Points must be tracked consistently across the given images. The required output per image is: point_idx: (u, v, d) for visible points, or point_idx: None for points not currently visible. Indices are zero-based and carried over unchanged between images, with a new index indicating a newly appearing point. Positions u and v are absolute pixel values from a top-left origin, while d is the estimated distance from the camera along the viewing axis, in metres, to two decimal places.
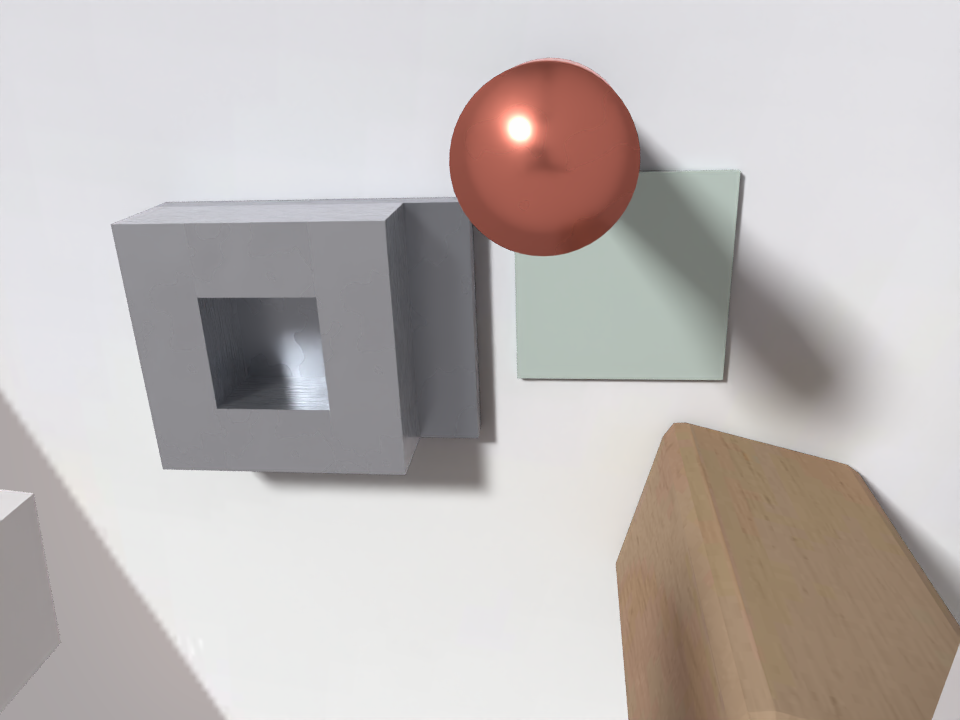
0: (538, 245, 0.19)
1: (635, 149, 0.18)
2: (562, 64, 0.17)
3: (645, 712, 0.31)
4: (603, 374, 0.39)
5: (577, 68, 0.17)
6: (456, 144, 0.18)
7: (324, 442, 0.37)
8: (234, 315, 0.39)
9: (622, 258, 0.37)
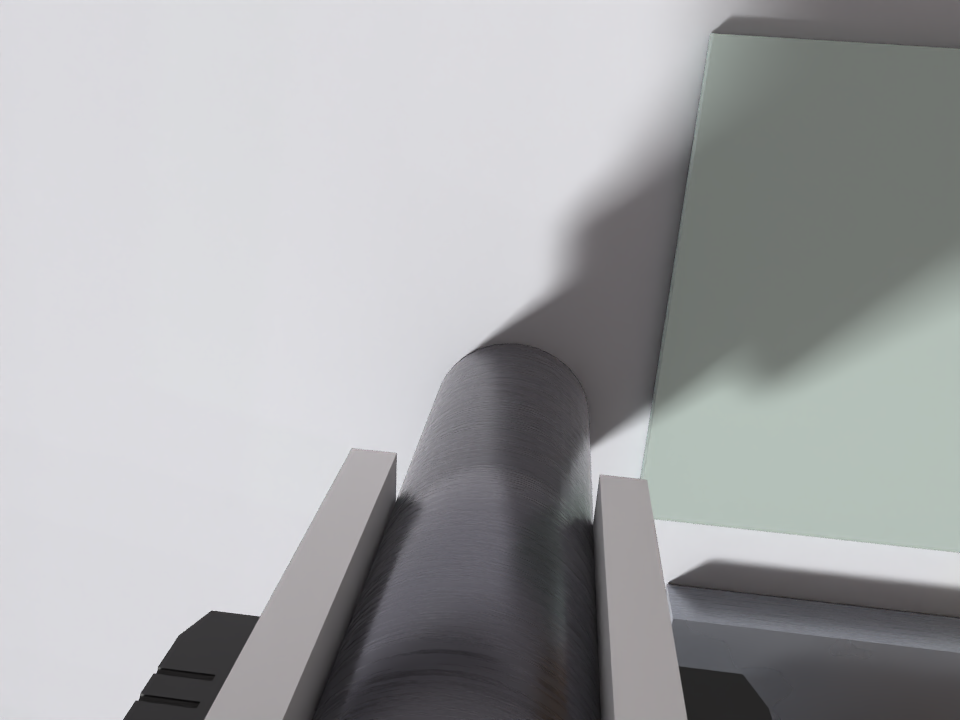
0: None
1: None
2: None
3: None
4: None
5: None
6: None
7: None
8: None
9: (872, 322, 0.15)
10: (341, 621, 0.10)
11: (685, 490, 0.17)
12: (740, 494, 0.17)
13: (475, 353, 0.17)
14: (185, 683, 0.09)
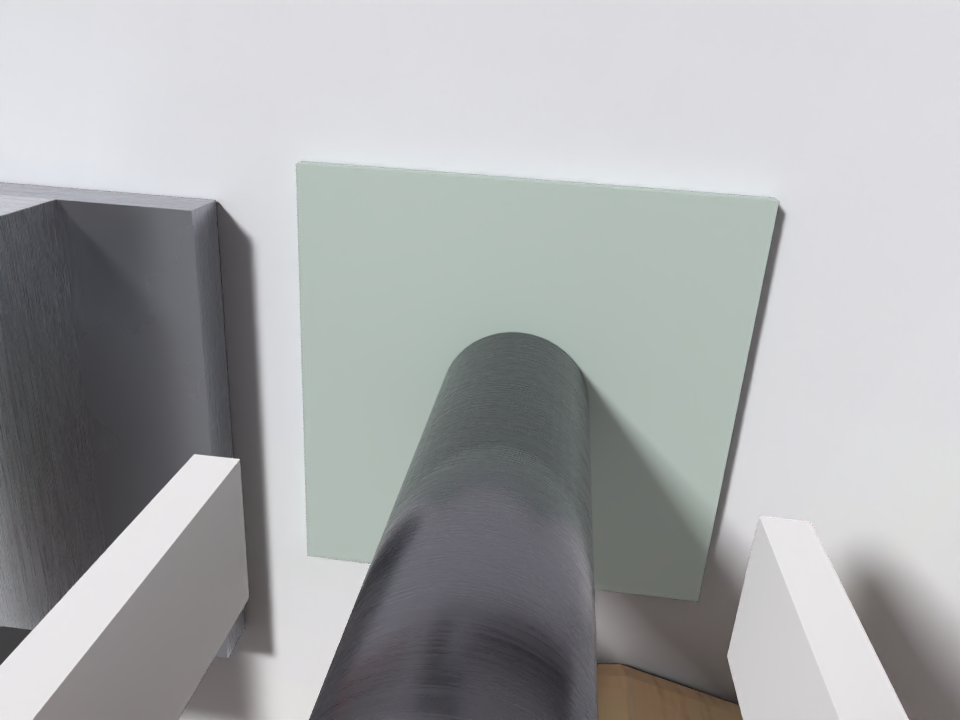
0: None
1: None
2: None
3: None
4: None
5: None
6: None
7: None
8: None
9: None
10: (134, 637, 0.10)
11: (334, 211, 0.17)
12: (336, 264, 0.17)
13: (479, 341, 0.18)
14: None
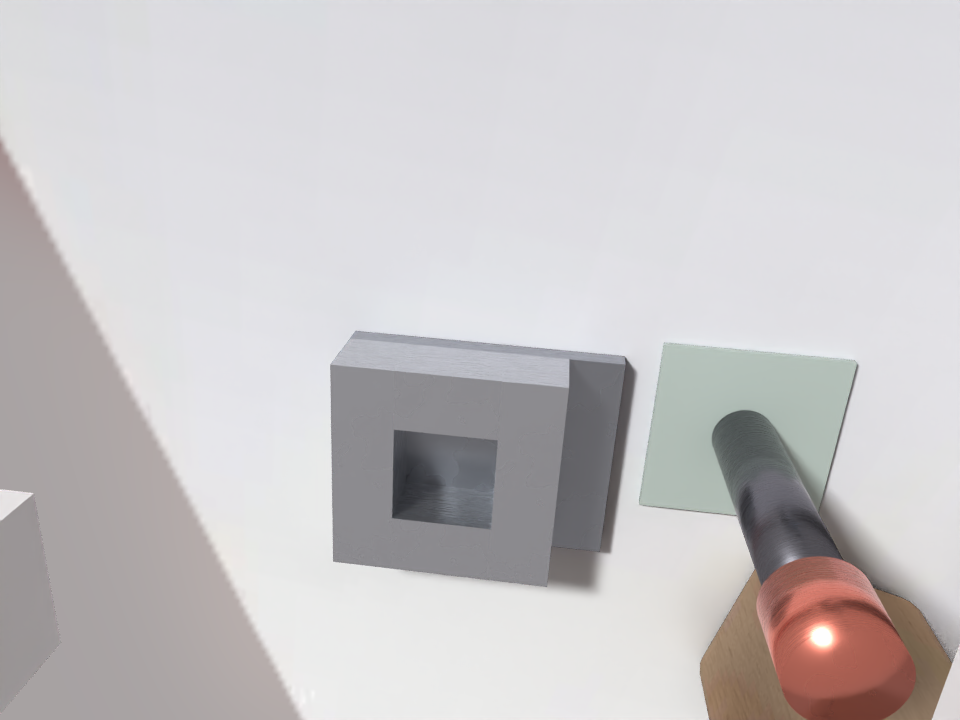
0: (904, 689, 0.27)
1: (854, 630, 0.26)
2: (786, 661, 0.27)
3: None
4: (714, 509, 0.46)
5: (791, 654, 0.27)
6: None
7: (481, 554, 0.43)
8: (405, 433, 0.45)
9: None
10: None
11: (677, 363, 0.43)
12: (675, 382, 0.43)
13: (731, 413, 0.43)
14: None
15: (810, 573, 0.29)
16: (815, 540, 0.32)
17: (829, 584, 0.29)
